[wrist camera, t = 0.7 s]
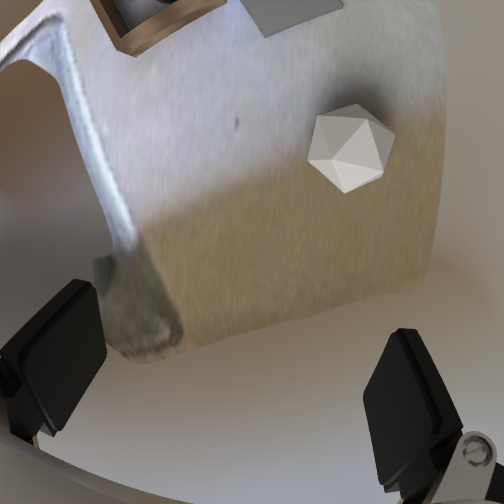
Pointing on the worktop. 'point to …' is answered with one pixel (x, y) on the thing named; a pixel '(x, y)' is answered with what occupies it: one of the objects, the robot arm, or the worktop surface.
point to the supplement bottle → (167, 1)
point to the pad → (286, 12)
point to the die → (350, 147)
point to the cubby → (150, 23)
